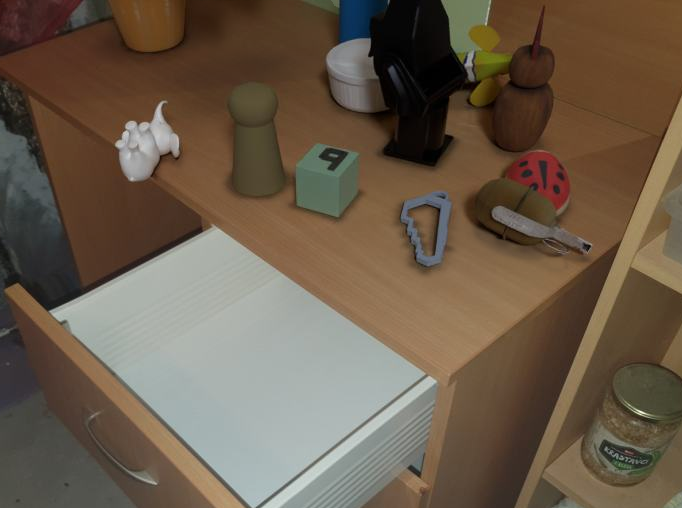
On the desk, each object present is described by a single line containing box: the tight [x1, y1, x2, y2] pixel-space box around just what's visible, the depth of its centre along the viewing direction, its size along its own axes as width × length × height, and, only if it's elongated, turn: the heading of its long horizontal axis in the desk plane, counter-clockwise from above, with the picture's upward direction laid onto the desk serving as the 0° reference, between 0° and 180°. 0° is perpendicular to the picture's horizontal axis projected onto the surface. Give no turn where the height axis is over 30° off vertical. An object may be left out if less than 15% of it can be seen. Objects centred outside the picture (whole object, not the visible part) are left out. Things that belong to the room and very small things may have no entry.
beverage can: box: [338, 0, 389, 45], centre depth 98 cm, size 6×6×12 cm
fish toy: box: [456, 24, 513, 107], centre depth 92 cm, size 15×10×12 cm
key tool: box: [400, 190, 453, 267], centre depth 74 cm, size 12×1×5 cm
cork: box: [227, 81, 287, 197], centre depth 78 cm, size 6×6×11 cm
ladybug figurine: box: [504, 149, 571, 218], centre depth 76 cm, size 7×10×4 cm
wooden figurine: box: [491, 5, 556, 153], centre depth 79 cm, size 7×6×15 cm
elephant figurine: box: [114, 100, 181, 183], centre depth 83 cm, size 7×12×6 cm, turn 161°
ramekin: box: [325, 38, 391, 114], centre depth 92 cm, size 11×11×5 cm
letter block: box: [294, 142, 360, 218], centre depth 77 cm, size 5×5×5 cm
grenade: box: [474, 177, 593, 256], centre depth 71 cm, size 6×6×12 cm
